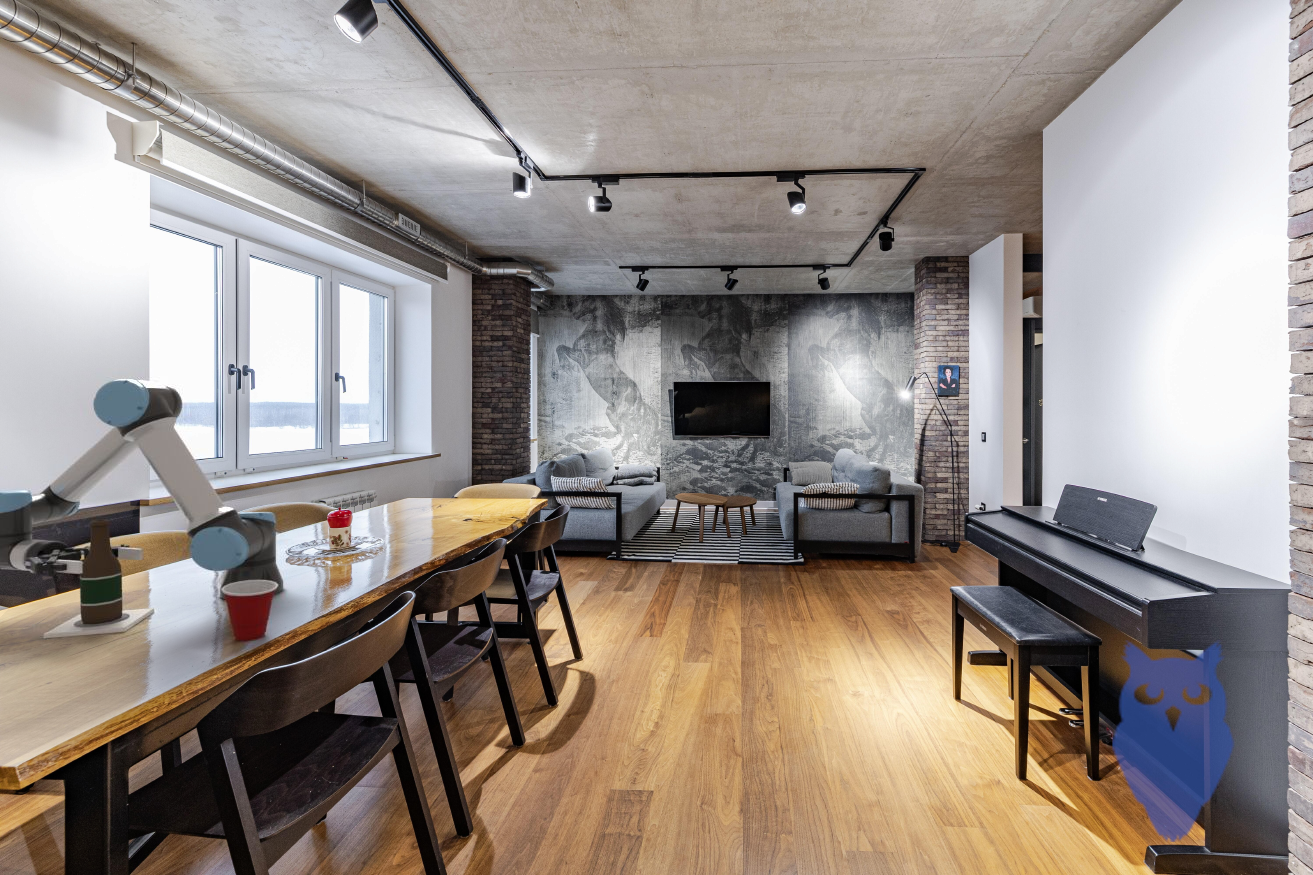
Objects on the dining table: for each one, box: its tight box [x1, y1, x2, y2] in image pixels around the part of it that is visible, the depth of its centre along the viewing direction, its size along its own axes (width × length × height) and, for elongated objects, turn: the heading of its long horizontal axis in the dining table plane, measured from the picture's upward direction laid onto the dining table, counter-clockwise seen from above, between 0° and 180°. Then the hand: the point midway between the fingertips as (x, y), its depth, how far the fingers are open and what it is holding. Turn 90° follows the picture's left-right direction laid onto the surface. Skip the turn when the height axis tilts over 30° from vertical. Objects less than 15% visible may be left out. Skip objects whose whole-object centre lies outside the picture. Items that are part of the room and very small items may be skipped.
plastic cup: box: [221, 580, 278, 642], centre depth 141 cm, size 11×11×12 cm
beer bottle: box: [79, 518, 123, 624], centre depth 148 cm, size 8×8×24 cm
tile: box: [43, 607, 155, 639], centre depth 148 cm, size 15×15×1 cm
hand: (112, 560), depth 147 cm, fingers open, 13 cm apart
